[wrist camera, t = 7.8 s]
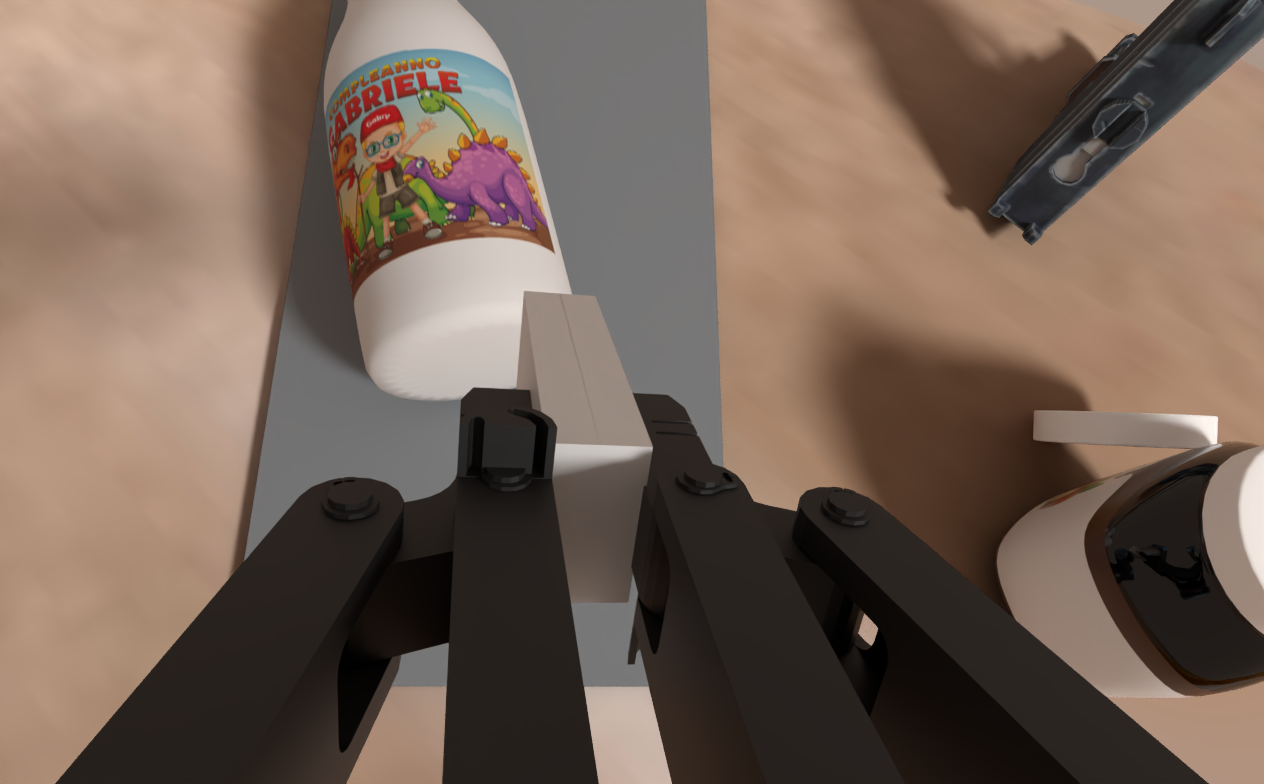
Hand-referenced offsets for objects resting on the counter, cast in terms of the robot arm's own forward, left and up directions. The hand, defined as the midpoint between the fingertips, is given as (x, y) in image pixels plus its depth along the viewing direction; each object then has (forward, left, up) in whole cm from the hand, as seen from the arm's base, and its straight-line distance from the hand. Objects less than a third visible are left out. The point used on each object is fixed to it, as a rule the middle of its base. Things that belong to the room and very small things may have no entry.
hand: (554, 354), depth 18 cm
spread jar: (+24, +8, -16) cm, 30 cm away
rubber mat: (-4, +10, -16) cm, 19 cm away
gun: (+20, +29, -16) cm, 39 cm away
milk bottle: (-3, +3, -12) cm, 12 cm away
